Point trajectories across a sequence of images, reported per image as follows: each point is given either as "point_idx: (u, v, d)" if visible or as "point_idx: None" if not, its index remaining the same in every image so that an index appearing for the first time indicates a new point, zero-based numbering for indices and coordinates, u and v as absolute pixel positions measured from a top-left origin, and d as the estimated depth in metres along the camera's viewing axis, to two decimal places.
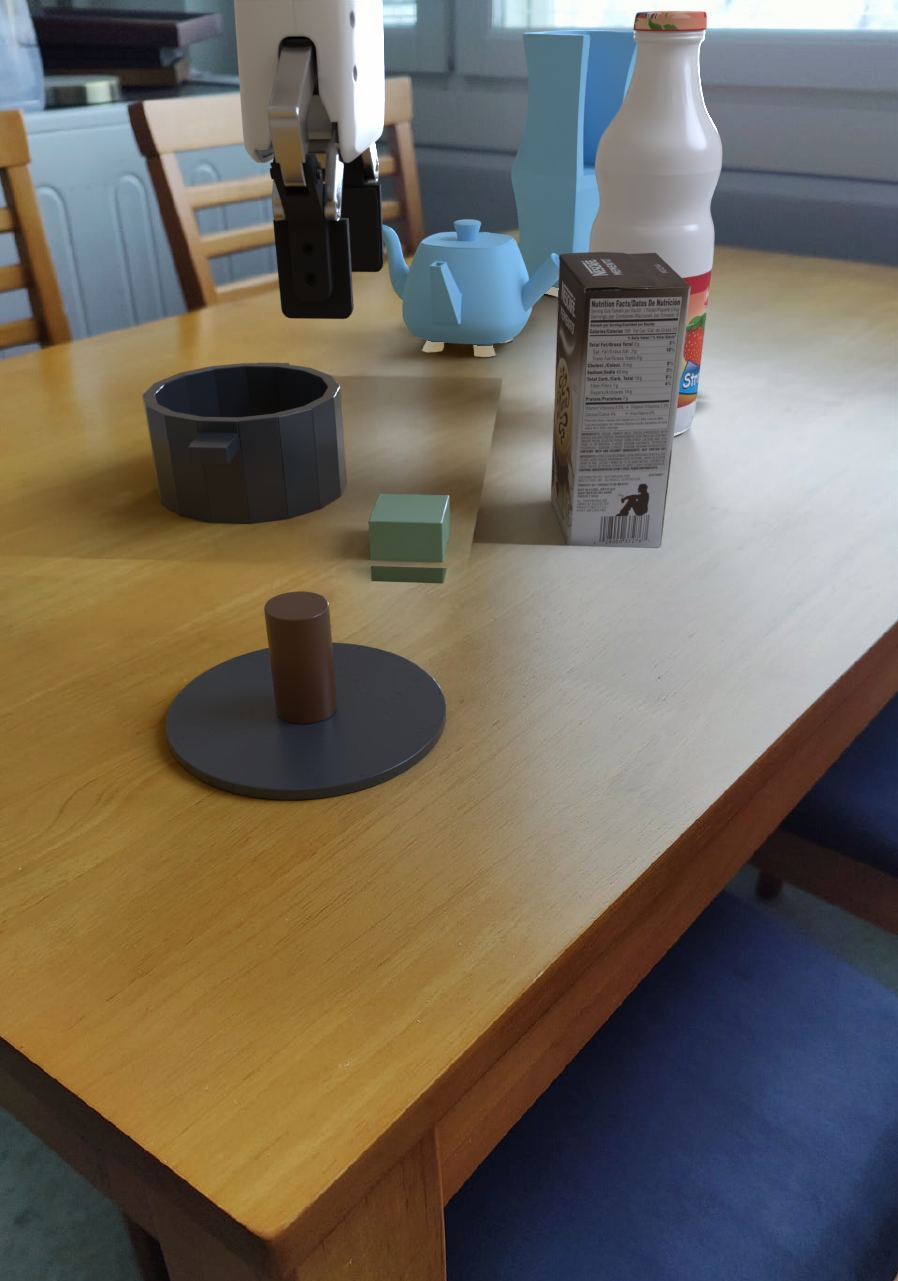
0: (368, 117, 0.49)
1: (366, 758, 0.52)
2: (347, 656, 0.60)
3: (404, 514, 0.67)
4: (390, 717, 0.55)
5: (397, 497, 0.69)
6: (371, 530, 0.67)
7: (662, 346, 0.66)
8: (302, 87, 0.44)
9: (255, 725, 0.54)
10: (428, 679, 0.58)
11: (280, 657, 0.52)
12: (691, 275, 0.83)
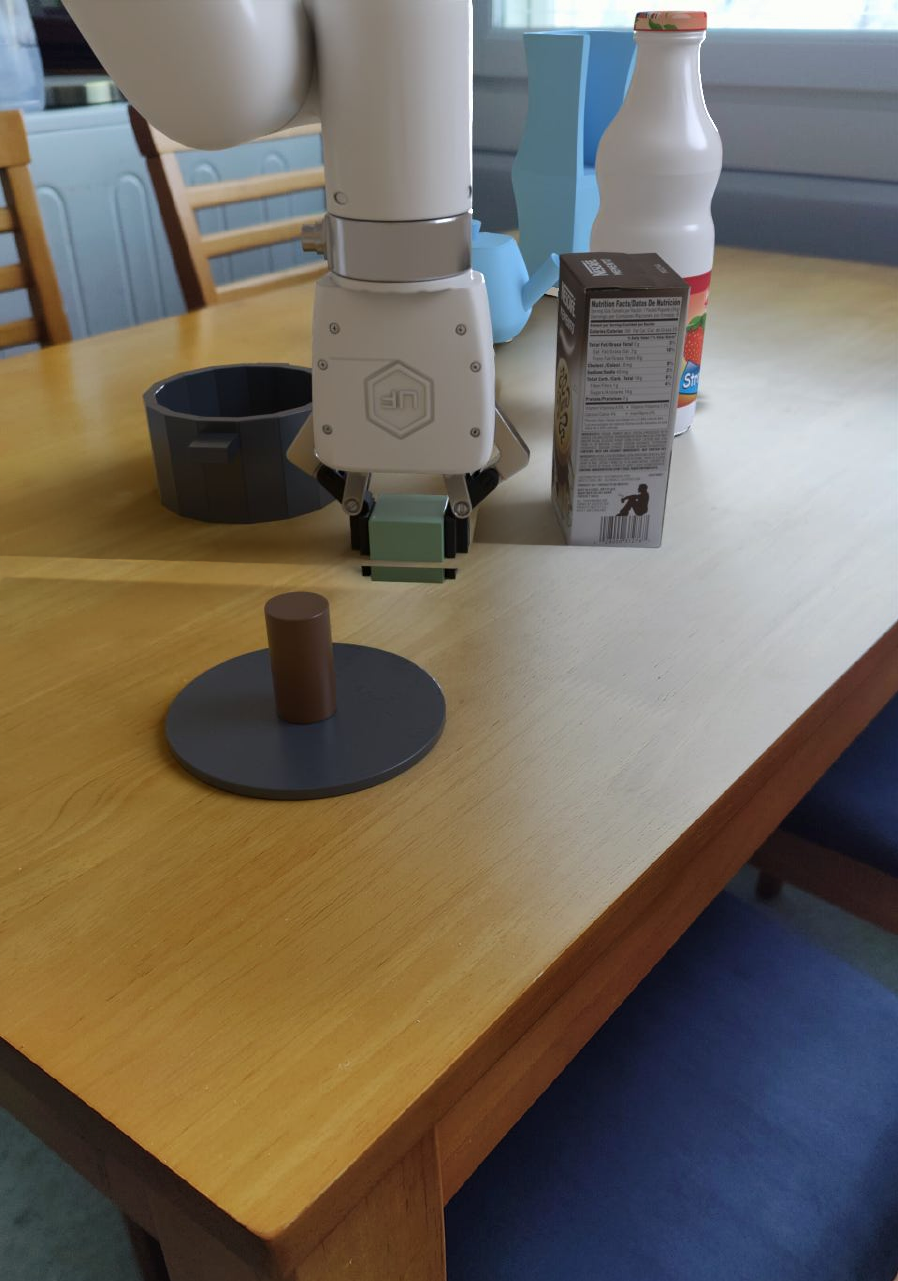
0: None
1: (366, 758, 0.52)
2: (347, 656, 0.60)
3: (404, 514, 0.67)
4: (390, 717, 0.55)
5: (397, 497, 0.69)
6: (371, 530, 0.67)
7: (662, 346, 0.66)
8: (516, 431, 0.65)
9: (255, 725, 0.54)
10: (428, 679, 0.58)
11: (280, 657, 0.52)
12: (691, 275, 0.83)
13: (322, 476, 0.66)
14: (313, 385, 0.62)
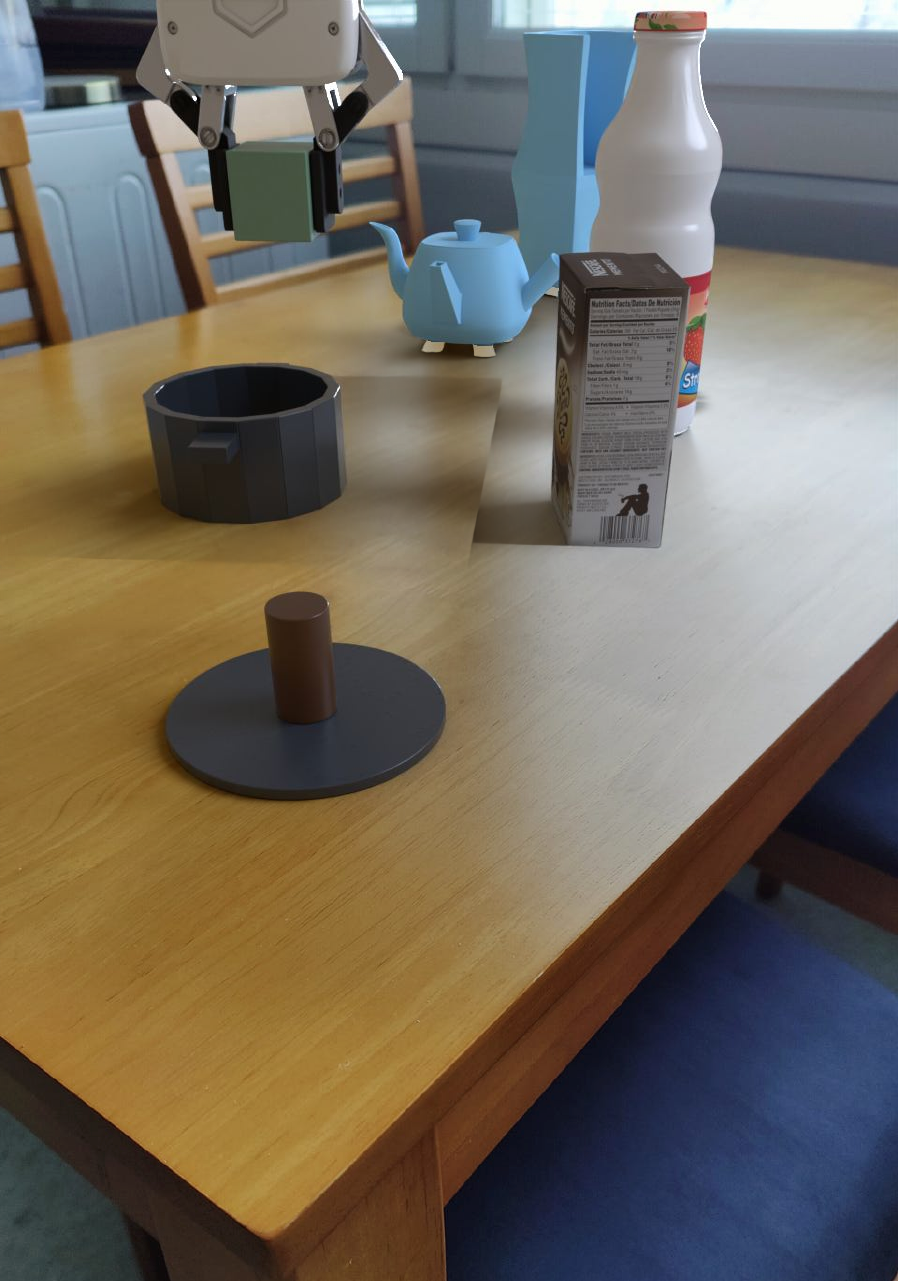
0: None
1: (366, 758, 0.52)
2: (347, 656, 0.60)
3: (267, 148, 0.61)
4: (390, 717, 0.55)
5: (264, 142, 0.63)
6: (229, 163, 0.61)
7: (662, 346, 0.66)
8: (386, 48, 0.59)
9: (255, 725, 0.54)
10: (428, 679, 0.58)
11: (280, 657, 0.52)
12: (691, 275, 0.83)
13: (176, 101, 0.61)
14: None
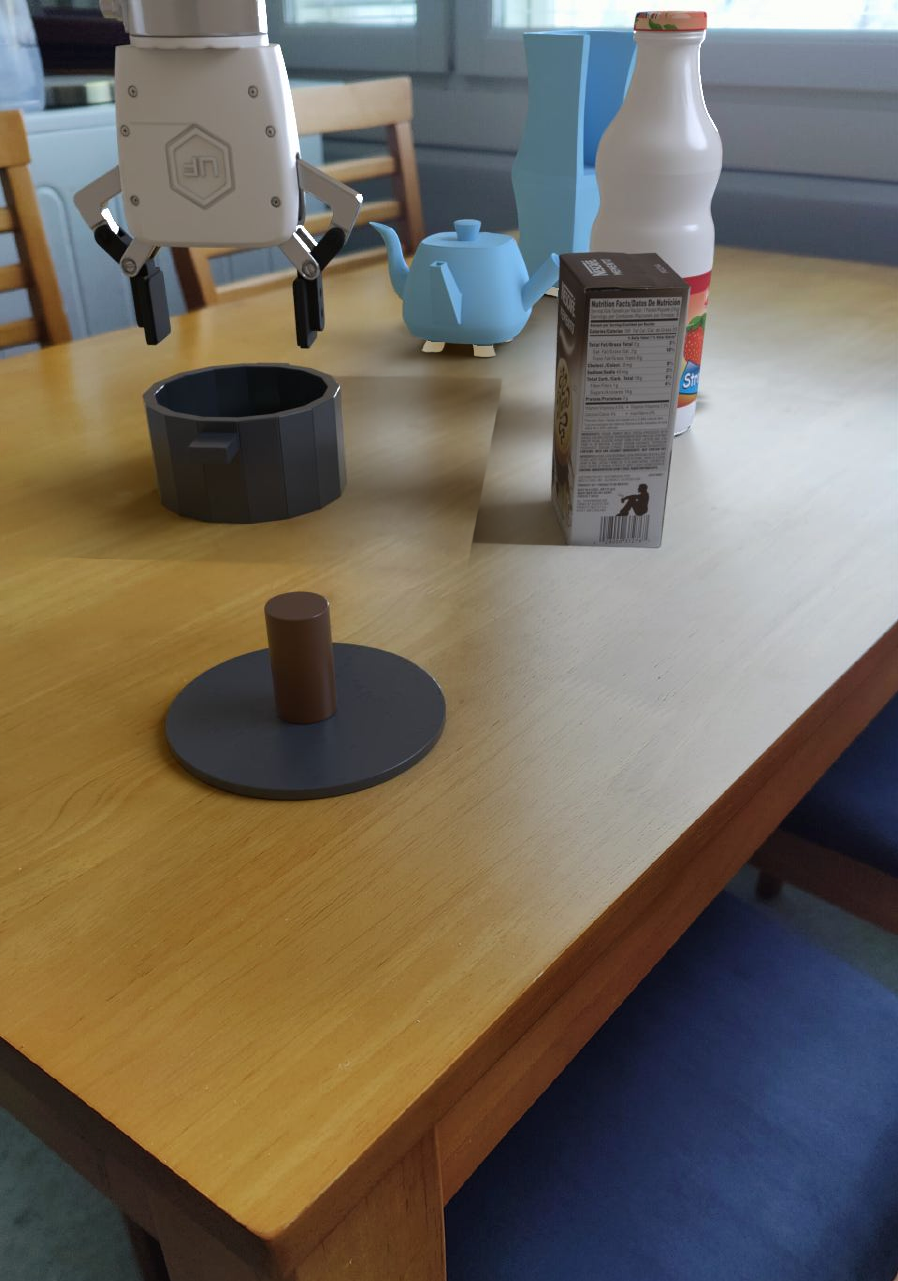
0: None
1: (366, 758, 0.52)
2: (347, 656, 0.60)
3: None
4: (390, 717, 0.55)
5: None
6: None
7: (662, 346, 0.66)
8: (339, 182, 0.67)
9: (255, 725, 0.54)
10: (428, 679, 0.58)
11: (280, 657, 0.52)
12: (691, 275, 0.83)
13: (99, 235, 0.68)
14: (118, 154, 0.64)
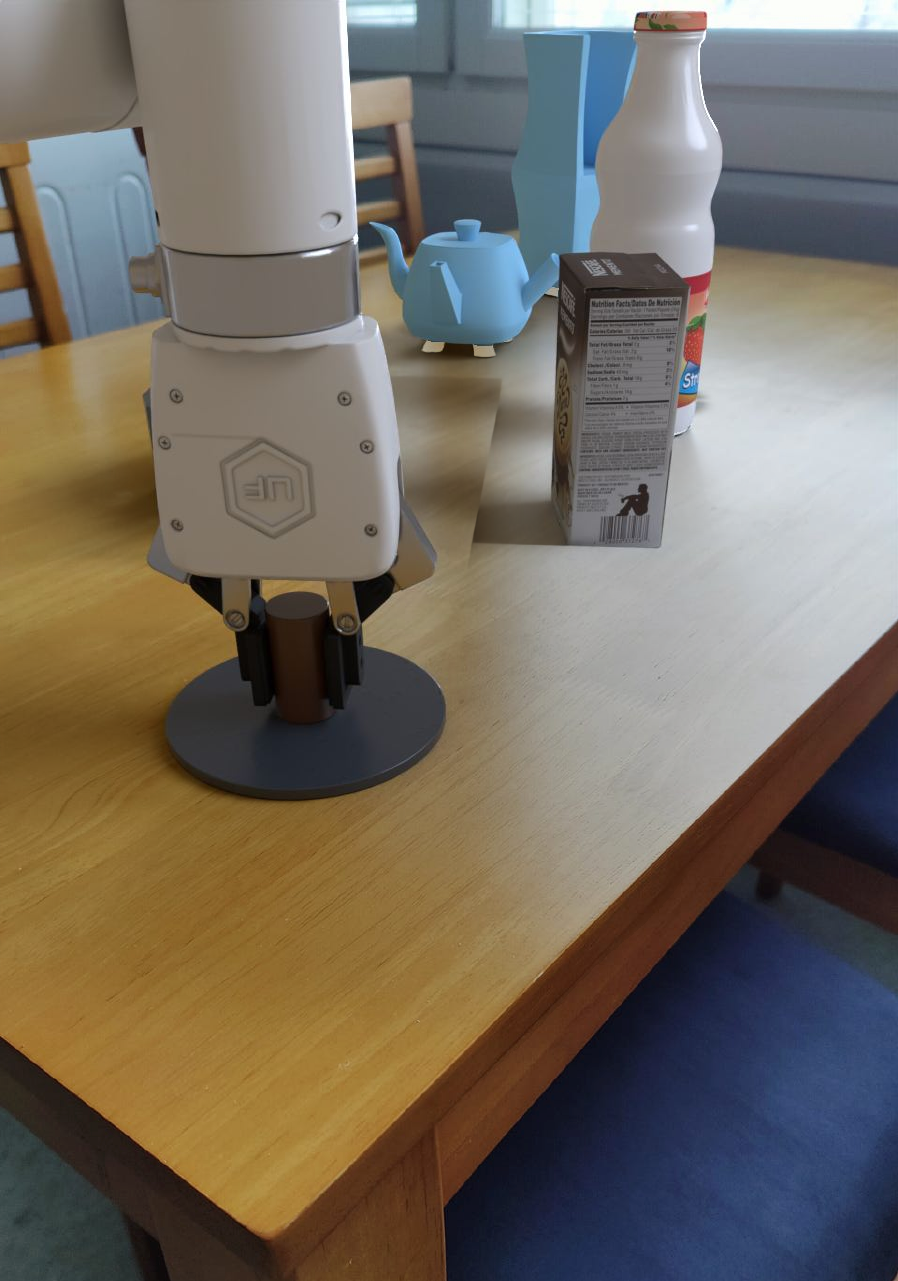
0: None
1: (366, 758, 0.52)
2: None
3: None
4: (390, 717, 0.55)
5: None
6: None
7: (662, 346, 0.66)
8: (422, 530, 0.50)
9: (255, 725, 0.54)
10: (428, 679, 0.58)
11: (280, 657, 0.52)
12: (691, 275, 0.83)
13: (196, 582, 0.51)
14: (155, 468, 0.47)
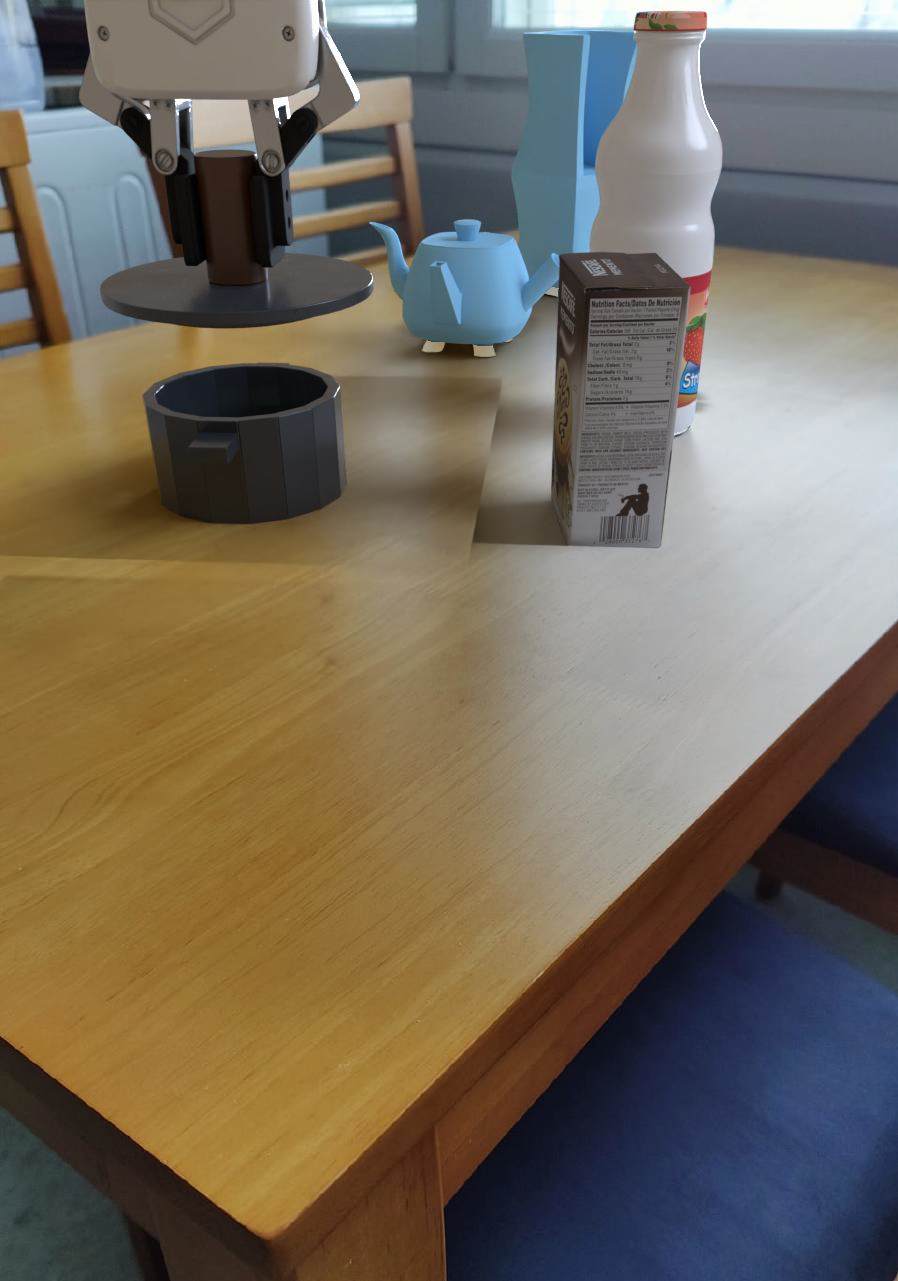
0: None
1: (289, 300, 0.54)
2: (283, 258, 0.62)
3: None
4: (317, 283, 0.57)
5: None
6: None
7: (662, 346, 0.66)
8: (343, 64, 0.52)
9: (186, 286, 0.56)
10: (359, 267, 0.59)
11: (208, 204, 0.54)
12: (691, 275, 0.83)
13: (127, 120, 0.53)
14: None
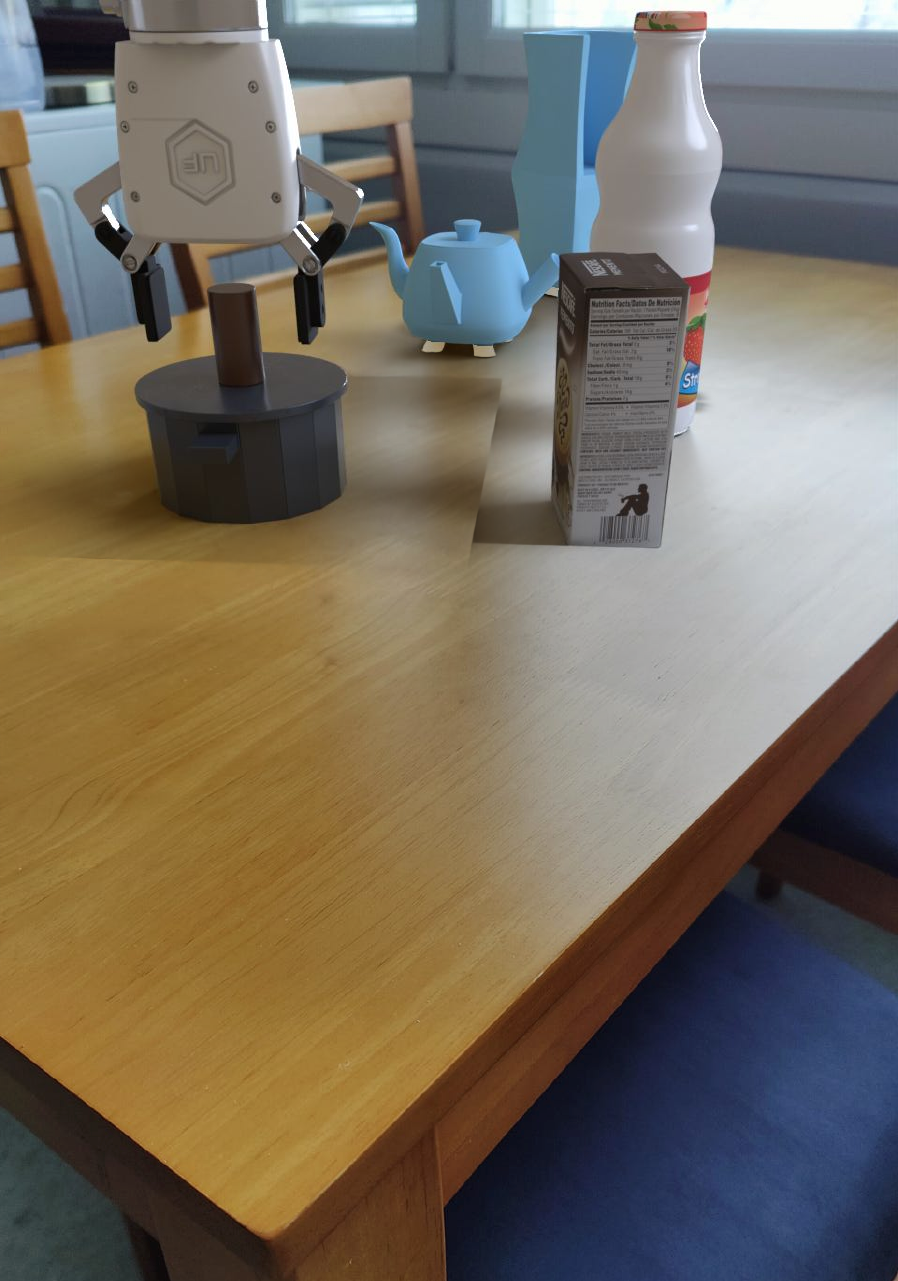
0: None
1: (282, 401, 0.70)
2: (276, 358, 0.78)
3: None
4: (304, 383, 0.73)
5: None
6: None
7: (662, 346, 0.66)
8: (339, 177, 0.66)
9: (202, 388, 0.72)
10: (336, 367, 0.75)
11: (219, 327, 0.70)
12: (691, 275, 0.83)
13: (100, 232, 0.68)
14: (118, 150, 0.64)
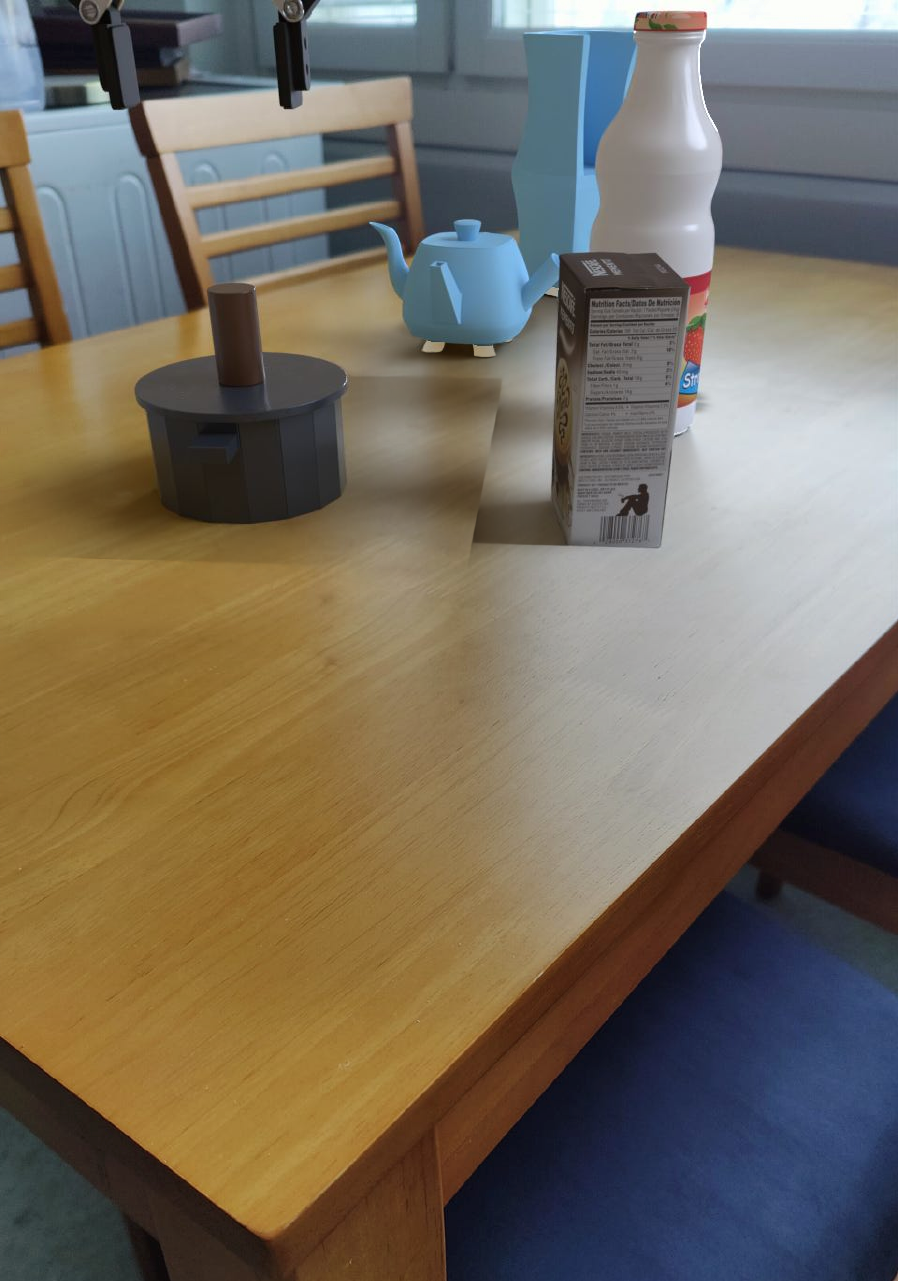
0: None
1: (282, 401, 0.70)
2: (276, 358, 0.78)
3: None
4: (304, 383, 0.73)
5: None
6: None
7: (662, 346, 0.66)
8: None
9: (202, 388, 0.72)
10: (336, 367, 0.75)
11: (219, 327, 0.70)
12: (691, 275, 0.83)
13: None
14: None
